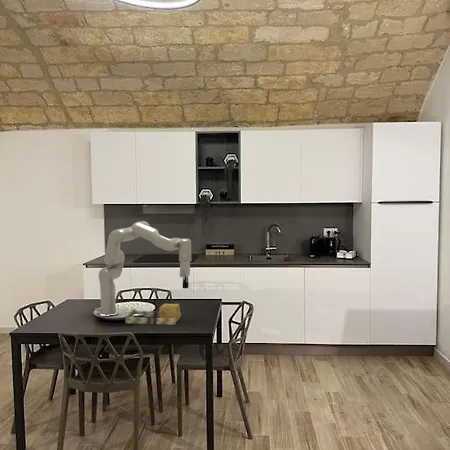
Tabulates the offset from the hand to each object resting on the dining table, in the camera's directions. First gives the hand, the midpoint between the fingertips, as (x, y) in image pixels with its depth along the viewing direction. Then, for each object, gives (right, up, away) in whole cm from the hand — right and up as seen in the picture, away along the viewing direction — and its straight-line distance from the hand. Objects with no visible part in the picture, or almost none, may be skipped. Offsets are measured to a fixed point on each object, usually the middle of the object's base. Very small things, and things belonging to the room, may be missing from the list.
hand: (185, 287), depth 298 cm
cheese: (-10, -21, +3) cm, 24 cm away
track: (-20, -21, +4) cm, 29 cm away
